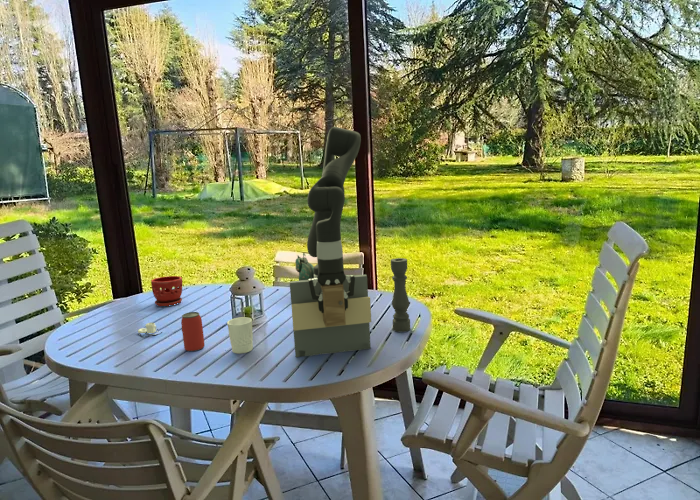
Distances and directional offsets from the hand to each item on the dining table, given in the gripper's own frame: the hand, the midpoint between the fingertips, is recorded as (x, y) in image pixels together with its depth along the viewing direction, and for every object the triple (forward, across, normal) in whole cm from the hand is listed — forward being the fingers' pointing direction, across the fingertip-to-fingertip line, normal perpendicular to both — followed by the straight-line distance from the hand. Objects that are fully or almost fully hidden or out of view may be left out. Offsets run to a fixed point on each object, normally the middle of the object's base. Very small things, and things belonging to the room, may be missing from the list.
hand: (333, 310), depth 145 cm
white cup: (+16, -29, +18) cm, 38 cm away
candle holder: (+16, +26, +21) cm, 37 cm away
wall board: (+16, 0, +9) cm, 18 cm away
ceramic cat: (+16, -2, +75) cm, 77 cm away
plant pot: (+16, -65, +86) cm, 109 cm away
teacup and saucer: (+17, -64, +49) cm, 83 cm away
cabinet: (+4, 0, 0) cm, 4 cm away
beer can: (+16, -45, +25) cm, 54 cm away
